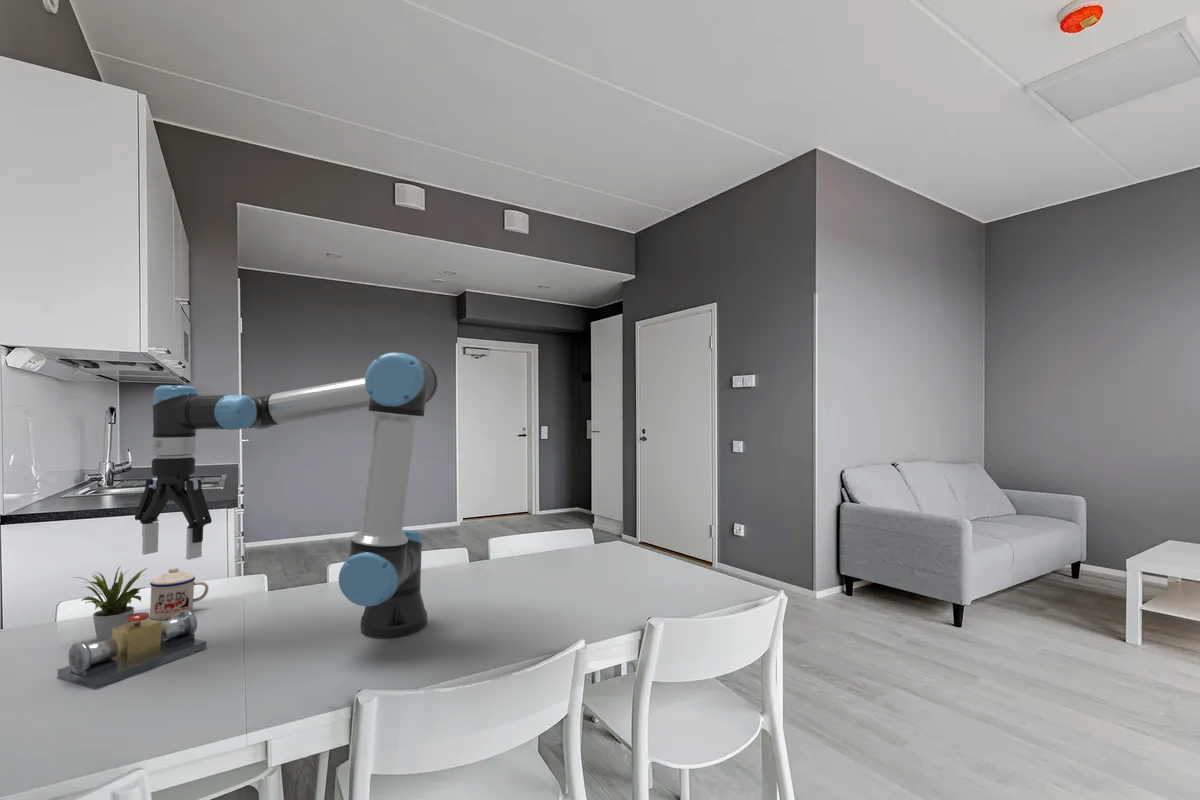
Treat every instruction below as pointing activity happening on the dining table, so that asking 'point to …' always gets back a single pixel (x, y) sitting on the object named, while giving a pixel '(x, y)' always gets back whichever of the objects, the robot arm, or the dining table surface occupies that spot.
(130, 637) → the brass valve
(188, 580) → the teacup with lid
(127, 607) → the house plant
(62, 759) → the dining table surface
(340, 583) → the robot arm
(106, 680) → the pipe run
